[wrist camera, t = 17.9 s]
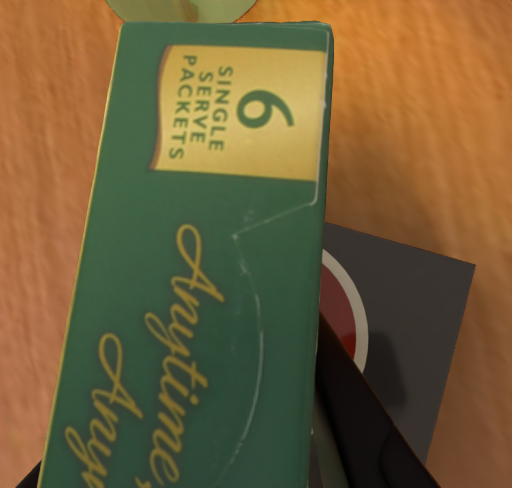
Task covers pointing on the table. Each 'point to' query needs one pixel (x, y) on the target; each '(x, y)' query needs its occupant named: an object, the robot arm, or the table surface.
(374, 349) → the hob
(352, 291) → the cooking zone
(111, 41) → the table surface
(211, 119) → the coffee box
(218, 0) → the mug
